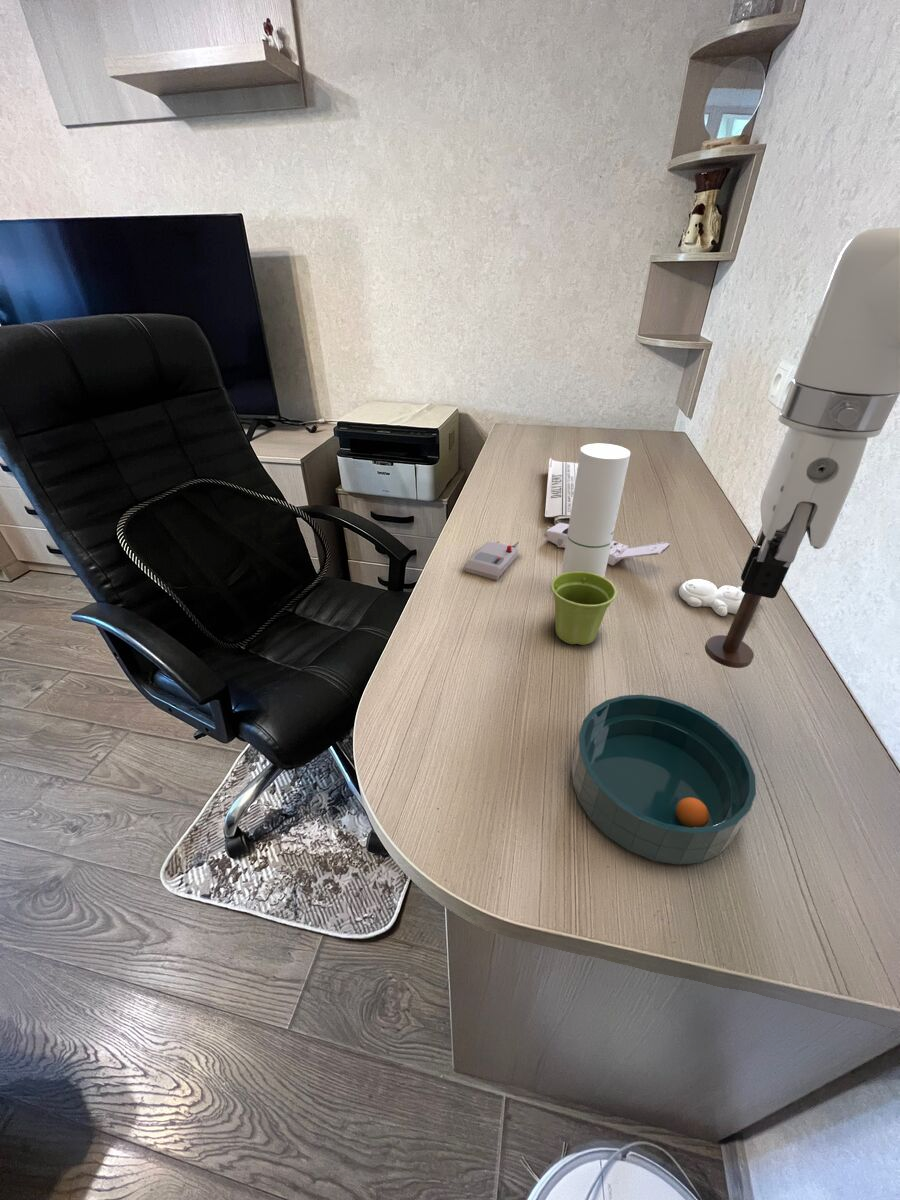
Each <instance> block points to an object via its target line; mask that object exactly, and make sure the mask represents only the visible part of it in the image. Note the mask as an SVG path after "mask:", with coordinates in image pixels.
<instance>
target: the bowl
mask: <svg viewBox="0 0 900 1200" xmlns="http://www.w3.org/2000/svg"><path fill="white" fill-rule="evenodd" d="M577 737H578V738H577V741H576V746H575V752H574V755H573V759H572V763H571V779H572V785H573V788H574V791H575V795H576V797H577V800H578V803H579V804H580V806H581V807H582V809H583V811H584V813H585V814H586V815H587V816H588V818H589V820H590V821H591V822H592V823H593V824H594V825H595V826H596V827H597V828H598V830H600V831H601V832H602V833H603V834H604V835H605V836H606V837H608V838H609V839H610V840H612V841H613V842H615V843H616V844H618V845H619V846H621V847H622V848H624V849H626V850H627V851H629V852H631V853H634V854H636V855H639V856H640V857H643V858H646V859H648V860H651V861H654V862H661V863H666V864H672V865H690V864H699V863H704V862H705V861H707V860H710V859H712V858H715V857H716V856H719V855H720V854H721V853H722V852H723V851H725V849H726V848H727V847H728V846H729V845H730V844H731V843H732V842H733V840H734V838H735V837H736V836H737V833H738V832H739V830H740V829H741V826H742V825H743V823H744V822H745V820H746V818H747V817H748V815H749V813H750V812H751V809H752V806H753V804H754V801H755V799H756V796H757V786H756V785H757V784H756V774H755V772H754V769H753V766H752V764H751V762H750V758H749V757H748V755H747V753H746V752H745V751H744V750H743V748H742V747H741V745H740V744H739V742H738V740H736V739H735V738H734V737H733V736H732V735H731V734H730V733H729V732H728V731H727V730H726V729H725V728H724V727H723V726H722V725H721V724H719V723H718V722H717V721H715V720H713V719H712V718H711V717H709V716H708V715H706V714H705V713H703V712H701V711H700V710H697V709H696V708H694V707H691V706H689V705H688V704H685V703H683V702H680V701H676V700H673V699H670V698H666V697H663V696H657V695H648V694H639V693H638V694H624V695H619V696H617V697H613V698H610V699H606V700H604V701H603V702H601V703H599V704H598V705H596V706H595V707H593V708H592V709H591V711H590V712H588V714H587V715H586V716H585V718H584V719H583V721H582V724H581V726H580V730H579V733H578V736H577ZM688 797H691V798H696V799H698V800H700V801H701V802H702V803H703V804H704V805H705V806H706V808H707V810H708V812H709V820H708V822H707V824H706V825H705V826H704V827H694V828H690V827H685V826H684V825H683V824H682V823H681V822H680V821H679V819H678V817H677V814H676V808H677V805H678V803H679V802H680V801H681V800H682V799H684V798H688Z"/></svg>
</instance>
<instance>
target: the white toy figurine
mask: <svg viewBox="0 0 900 1200" xmlns="http://www.w3.org/2000/svg"><path fill="white" fill-rule="evenodd" d="M741 587H742V586H738V587H736V586H732V585H729V584H727V585H722V586H720V587H719V588H718V587H717V585H716V584H715V583H713V582H711V581H709V580H707V579H701V578H693V579H688V580H686V581H684V582H683V583H682V584H681V585H680V586H679V590H678V595H679V597H680V598H681V599H682V600H683V601H684V602H685V603H687V605H689V606H690V607H692V608H693V607H694V608H700V607H710V608H712V610H713V611H714V612H715V614H717V615H718V616H721V617H725V616H727V615H728V613H729V614H733V615H736V613H737V610H738V608H739V606H740V603H741V601H742V598H743V596H744V594H745V593H744V592H742V590H741Z"/></svg>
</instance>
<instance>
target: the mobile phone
mask: <svg viewBox="0 0 900 1200" xmlns="http://www.w3.org/2000/svg"><path fill="white" fill-rule="evenodd" d="M568 527H569V524H565V523H558V524H554V525H553V526H552V527H551V526H546V531H545V539H546V540H547V541H549V542H550V543H552V544H555V545H556V546H557V548H563V549H565V547H566V540H567V534H568ZM670 546H671V543H670V541H661V542H656V543H655V542H654V543H650V544H643V545H636V546H630V547H629V546H628V545H627V544H623V543H621V542H618V541H615V540H613V539H612V543H611V548H610V553H609V557H608V562H607V565H610V566H614V565H616V564H617V563H618V562H619V561H621V560H623V559H631V558H640V557H646V556H648V557H649V556H656V555H662V553H664V552H665V551H666V550H667V549H668V548H669V547H670Z"/></svg>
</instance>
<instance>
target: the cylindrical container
mask: <svg viewBox="0 0 900 1200" xmlns="http://www.w3.org/2000/svg"><path fill="white" fill-rule="evenodd" d="M630 457H631V451H630V450H629V449H628V448H626V447H623V446H620V445H617V444H611V443H602V442H601V443H600V442H599V443H598V442H597V443H589V444H584V445H582V446H581V447H580V451H579V457H578V462H577V463H578V469H577V476H576V482H575V488H574V495H573V501H572V508H571V514H570V521H569V527H568V534H567V540H566V547H565V548H564V554H563V560H562V567H561V572H560V574H562V573H566V572H572V571H583V572H590V573H594V574H596V575H600V576H602V577H604V578H605V577H606V576H605V575H606V572H607V566H608V564H607V562H608V557H609V553H610V548H611V543H612V540H613V538H614V533H615V528H616V524H617V519H618V515H619V509H620V505H621V500H622V497H623V491H624V486H625V481H626V476H627V473H628V467H629V462H630Z"/></svg>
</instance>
